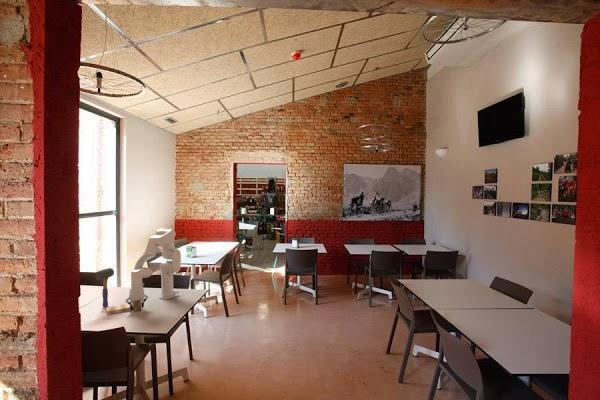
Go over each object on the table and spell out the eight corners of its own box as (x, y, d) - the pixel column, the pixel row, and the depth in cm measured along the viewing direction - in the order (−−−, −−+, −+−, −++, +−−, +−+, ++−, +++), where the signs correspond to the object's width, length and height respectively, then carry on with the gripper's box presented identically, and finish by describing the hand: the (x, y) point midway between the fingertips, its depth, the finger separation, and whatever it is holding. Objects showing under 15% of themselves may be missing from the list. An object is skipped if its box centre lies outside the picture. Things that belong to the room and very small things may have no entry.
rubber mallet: (102, 309, 249) (102, 271, 248) (94, 308, 250) (94, 270, 250) (115, 304, 261) (114, 267, 260) (107, 303, 262) (107, 267, 262)
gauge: (137, 305, 258) (137, 295, 258) (141, 310, 247) (141, 300, 247) (131, 306, 255) (130, 296, 255) (134, 312, 244) (133, 301, 244)
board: (139, 304, 260) (138, 301, 260) (141, 308, 252) (141, 305, 252) (106, 310, 246) (106, 307, 246) (107, 314, 238) (107, 311, 238)
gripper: (147, 282, 255) (148, 305, 256) (123, 286, 245) (123, 309, 245) (149, 285, 249) (150, 307, 249) (124, 289, 239) (125, 312, 239)
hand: (137, 308), depth 247 cm, fingers open, 6 cm apart
